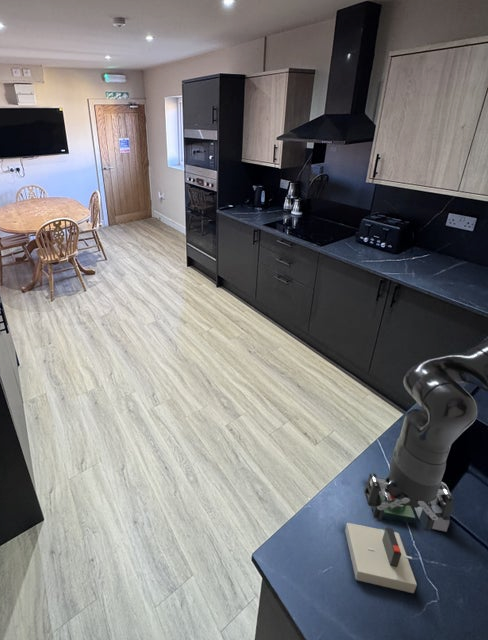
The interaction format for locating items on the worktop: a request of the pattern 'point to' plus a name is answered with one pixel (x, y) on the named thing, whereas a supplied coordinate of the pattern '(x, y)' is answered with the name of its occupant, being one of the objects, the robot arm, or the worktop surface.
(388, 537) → the knob
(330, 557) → the worktop surface
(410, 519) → the box
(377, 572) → the panel
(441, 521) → the flask
